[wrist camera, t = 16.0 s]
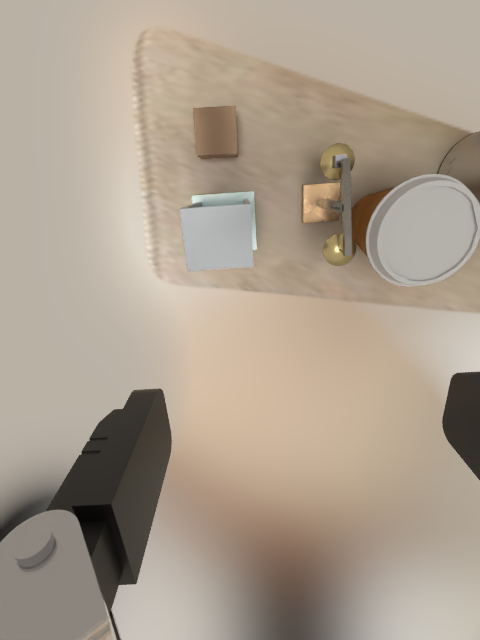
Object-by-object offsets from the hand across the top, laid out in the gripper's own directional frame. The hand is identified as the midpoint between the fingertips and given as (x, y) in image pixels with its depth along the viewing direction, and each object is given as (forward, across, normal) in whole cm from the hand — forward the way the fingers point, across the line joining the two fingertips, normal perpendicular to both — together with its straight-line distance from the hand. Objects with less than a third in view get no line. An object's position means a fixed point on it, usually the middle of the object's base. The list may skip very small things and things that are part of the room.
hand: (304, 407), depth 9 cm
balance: (+32, -8, -4) cm, 33 cm away
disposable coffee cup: (+32, -14, -1) cm, 35 cm away
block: (+32, +4, -11) cm, 34 cm away
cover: (+31, +4, -2) cm, 32 cm away
